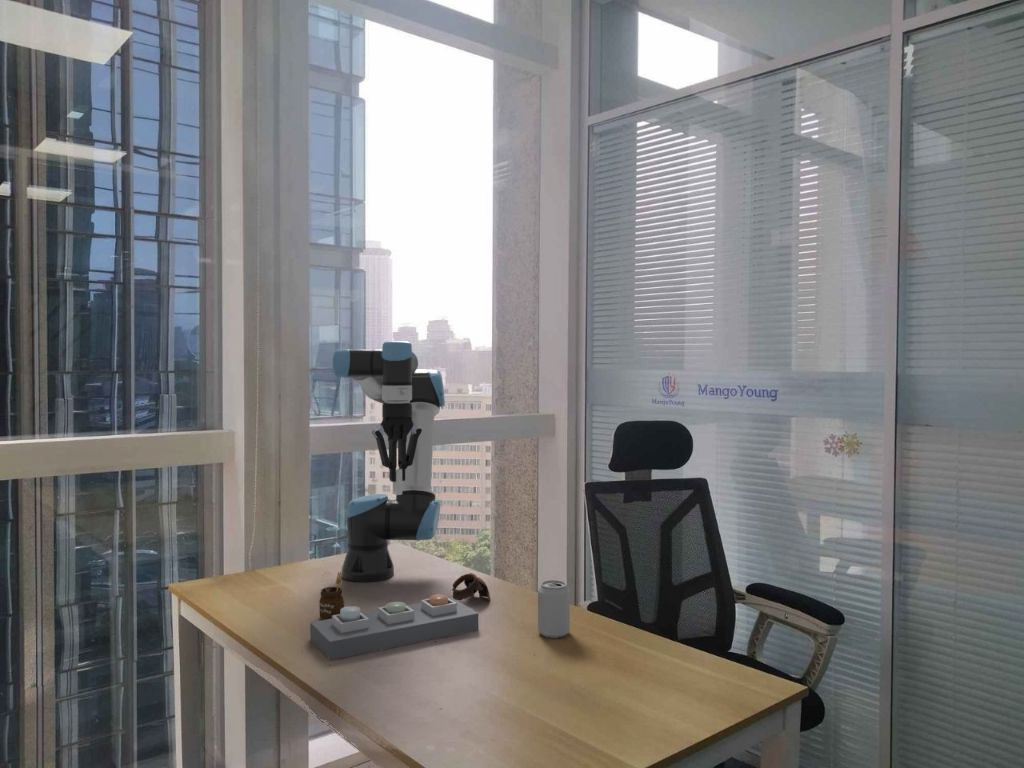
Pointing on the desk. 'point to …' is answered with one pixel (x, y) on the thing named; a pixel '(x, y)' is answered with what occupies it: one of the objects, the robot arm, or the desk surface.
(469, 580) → the dark brown curved piece
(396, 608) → the sage button
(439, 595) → the terracotta button
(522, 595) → the desk surface
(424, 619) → the console
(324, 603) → the utensil holder
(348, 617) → the pale blue button
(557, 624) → the can
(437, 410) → the robot arm
